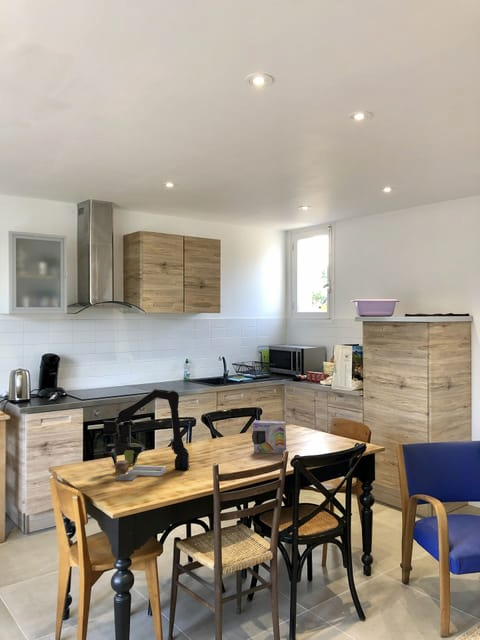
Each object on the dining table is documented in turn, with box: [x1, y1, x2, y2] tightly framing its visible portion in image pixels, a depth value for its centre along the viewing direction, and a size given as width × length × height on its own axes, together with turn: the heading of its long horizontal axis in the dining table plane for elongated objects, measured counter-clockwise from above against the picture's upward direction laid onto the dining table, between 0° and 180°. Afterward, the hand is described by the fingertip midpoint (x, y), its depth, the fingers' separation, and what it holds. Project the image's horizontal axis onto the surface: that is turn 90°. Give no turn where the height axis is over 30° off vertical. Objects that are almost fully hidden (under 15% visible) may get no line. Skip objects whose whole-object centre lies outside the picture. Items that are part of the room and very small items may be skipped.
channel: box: [127, 465, 167, 477], centre depth 255 cm, size 17×9×2 cm, turn 84°
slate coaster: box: [115, 473, 139, 482], centre depth 246 cm, size 8×8×1 cm
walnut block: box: [114, 460, 130, 475], centre depth 256 cm, size 5×5×5 cm
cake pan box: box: [251, 419, 287, 455], centre depth 293 cm, size 19×5×18 cm, turn 73°
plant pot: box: [123, 442, 141, 464], centre depth 275 cm, size 9×9×9 cm
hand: (124, 465), depth 256 cm, fingers open, 9 cm apart
